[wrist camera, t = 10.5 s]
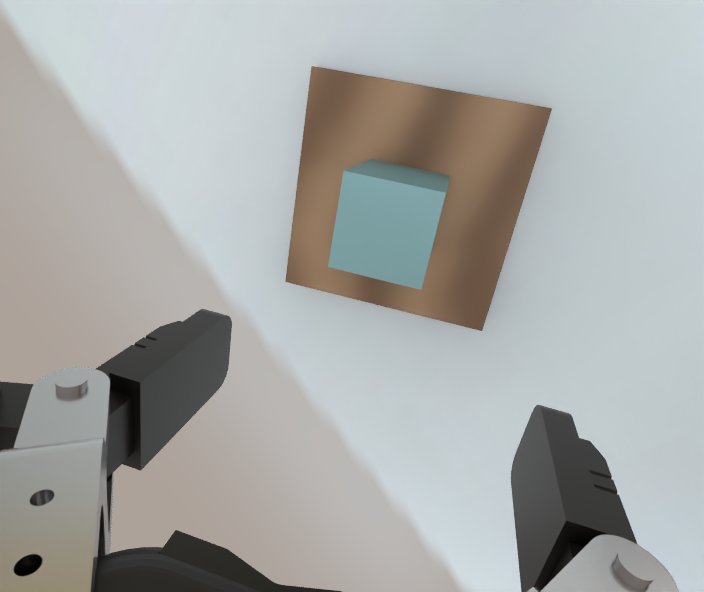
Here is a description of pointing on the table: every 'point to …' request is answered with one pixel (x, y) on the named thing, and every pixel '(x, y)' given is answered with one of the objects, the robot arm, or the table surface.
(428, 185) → the teal block
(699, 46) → the table surface
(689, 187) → the table surface
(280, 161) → the table surface
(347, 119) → the walnut board
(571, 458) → the robot arm
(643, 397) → the table surface
